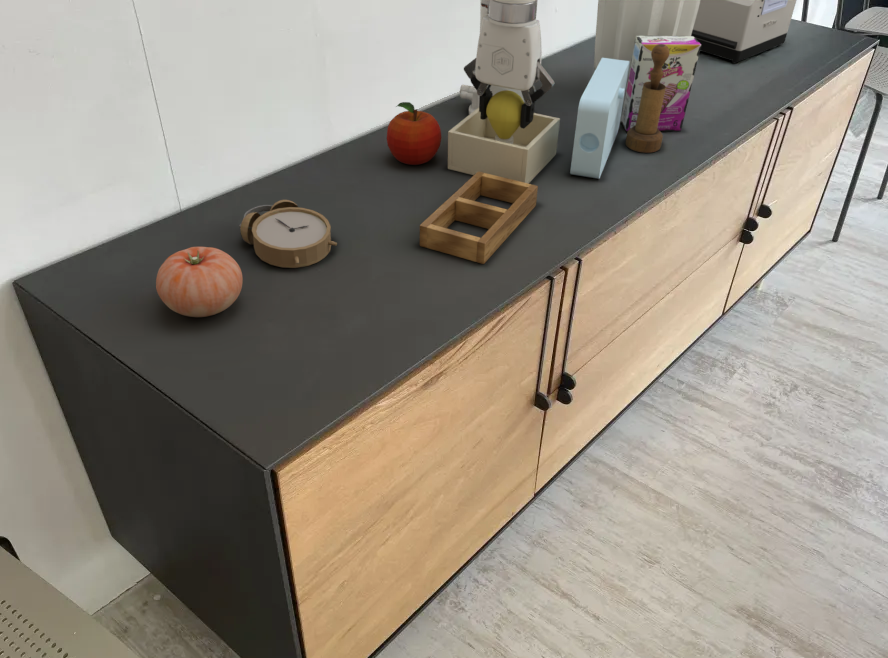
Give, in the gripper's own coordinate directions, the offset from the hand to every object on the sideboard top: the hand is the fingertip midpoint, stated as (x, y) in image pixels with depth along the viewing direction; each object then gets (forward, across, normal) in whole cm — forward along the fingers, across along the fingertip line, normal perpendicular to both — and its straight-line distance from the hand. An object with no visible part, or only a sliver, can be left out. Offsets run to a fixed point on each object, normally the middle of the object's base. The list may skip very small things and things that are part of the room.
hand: (505, 120), depth 133 cm
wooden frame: (+8, +6, -22) cm, 24 cm away
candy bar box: (+8, +19, +28) cm, 35 cm away
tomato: (+8, -17, -59) cm, 62 cm away
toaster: (+7, +19, +86) cm, 88 cm away
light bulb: (+5, 0, 0) cm, 5 cm away
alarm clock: (+8, -17, -41) cm, 45 cm away
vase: (+8, +11, +42) cm, 44 cm away
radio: (+8, +13, +12) cm, 19 cm away
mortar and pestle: (+8, +20, +19) cm, 29 cm away
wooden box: (+8, 0, 0) cm, 8 cm away
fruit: (+8, -14, -7) cm, 17 cm away
